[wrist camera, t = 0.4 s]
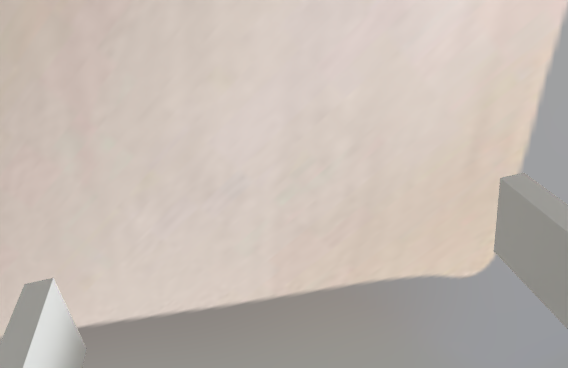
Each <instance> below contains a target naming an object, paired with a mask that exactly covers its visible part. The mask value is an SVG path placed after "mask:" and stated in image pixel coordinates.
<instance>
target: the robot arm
mask: <svg viewBox="0 0 568 368" xmlns="http://www.w3.org/2000/svg"><path fill="white" fill-rule="evenodd" d="M494 252H495V253H496V254H497V255H498V256H499V257H500V258H501V259H502V260H503V262H504V263H505V264H506V265H507V266H508V267H509V268H510V269H511V270H512V271H513V272H514V273H515V274H516V275H517V276H518V277H519V278H520V279H521V280H522V282H523V283H524V284H526V286H527V287H528V288H529V289H530V290H531V291H532V292H533V293H534V294H535V295H536V296H537V297H538V298H539V299H540V300H541V301H542V303H544V305H545V306H546V307H547V308H548V309H549V310H550V311H551V312H552V313H553V314H554V315H555V316H556V317H557V318H558V319H559V320H560V321H561V323H562V324H563V325H564V326H565V327H566V328H567V329H568V205H567V204H566V203H565V202H563V201H562V200H560V199H559V198H558V197H556V196H555V195H553V194H552V193H551V192H550V191H548V190H547V189H545V188H544V187H543V186H541V185H540V184H539V183H537V182H536V181H534V180H533V179H532V178H530V177H529V176H528V175H526V174H525V173H521V174H516V175H512V176H507V177H503V178H500V188H499V199H498V210H497V222H496V233H495V244H494ZM86 349H87V348H86V346H85V344H84V342H83V340H82V338H81V336H80V334H79V332H78V329H77V327H76V325H75V323H74V321H73V319H72V317H71V314H70V312H69V310H68V308H67V306H66V304H65V302H64V300H63V297H62V295H61V293H60V291H59V289H58V287H57V285H56V283H55V280H54V278H51V279H46V280H42V281H37V282H33V283H28V284H25V285H24V287H23V289H22V292H21V294H20V297H19V299H18V302H17V304H16V306H15V309H14V311H13V314H12V316H11V319H10V321H9V323H8V326H7V328H6V331H5V333H4V336H3V338H2V341H1V343H0V368H83V363H84V358H85V354H86Z"/></svg>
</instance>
